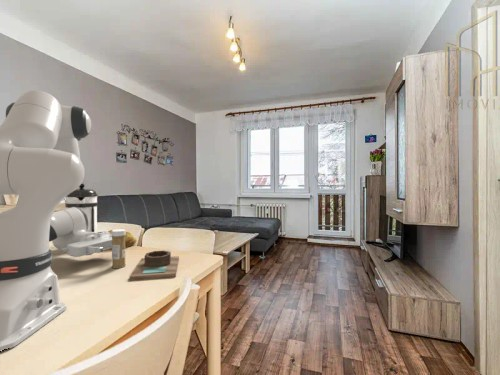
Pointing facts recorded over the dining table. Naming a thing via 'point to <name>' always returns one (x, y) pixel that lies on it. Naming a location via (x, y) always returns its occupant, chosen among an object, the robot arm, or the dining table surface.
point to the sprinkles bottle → (118, 248)
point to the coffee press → (84, 204)
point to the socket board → (156, 266)
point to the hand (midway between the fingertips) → (112, 247)
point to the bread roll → (127, 239)
